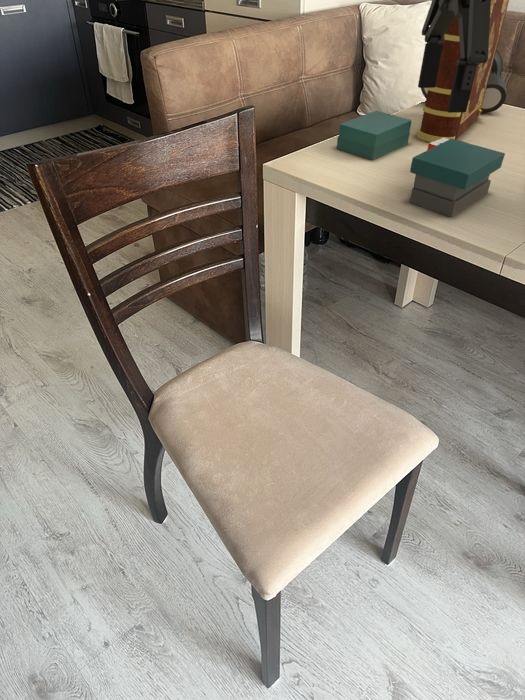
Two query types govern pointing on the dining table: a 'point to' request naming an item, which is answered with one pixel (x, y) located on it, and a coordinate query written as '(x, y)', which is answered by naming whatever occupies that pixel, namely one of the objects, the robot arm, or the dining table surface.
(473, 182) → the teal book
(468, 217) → the dining table surface
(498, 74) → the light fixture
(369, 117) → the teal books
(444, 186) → the gray lidded box
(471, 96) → the decorative book
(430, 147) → the rubik's cube
